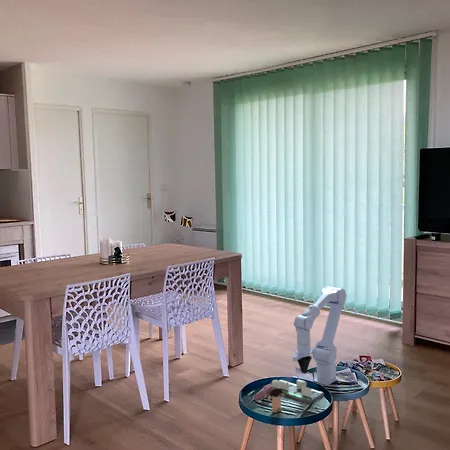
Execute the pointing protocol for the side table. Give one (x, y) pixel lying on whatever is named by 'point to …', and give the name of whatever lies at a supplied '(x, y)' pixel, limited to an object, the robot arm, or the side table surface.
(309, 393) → the block
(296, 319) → the robot arm
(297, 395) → the breaker panel
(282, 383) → the block
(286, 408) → the side table surface
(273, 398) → the grandmother figurine
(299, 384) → the block
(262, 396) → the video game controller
